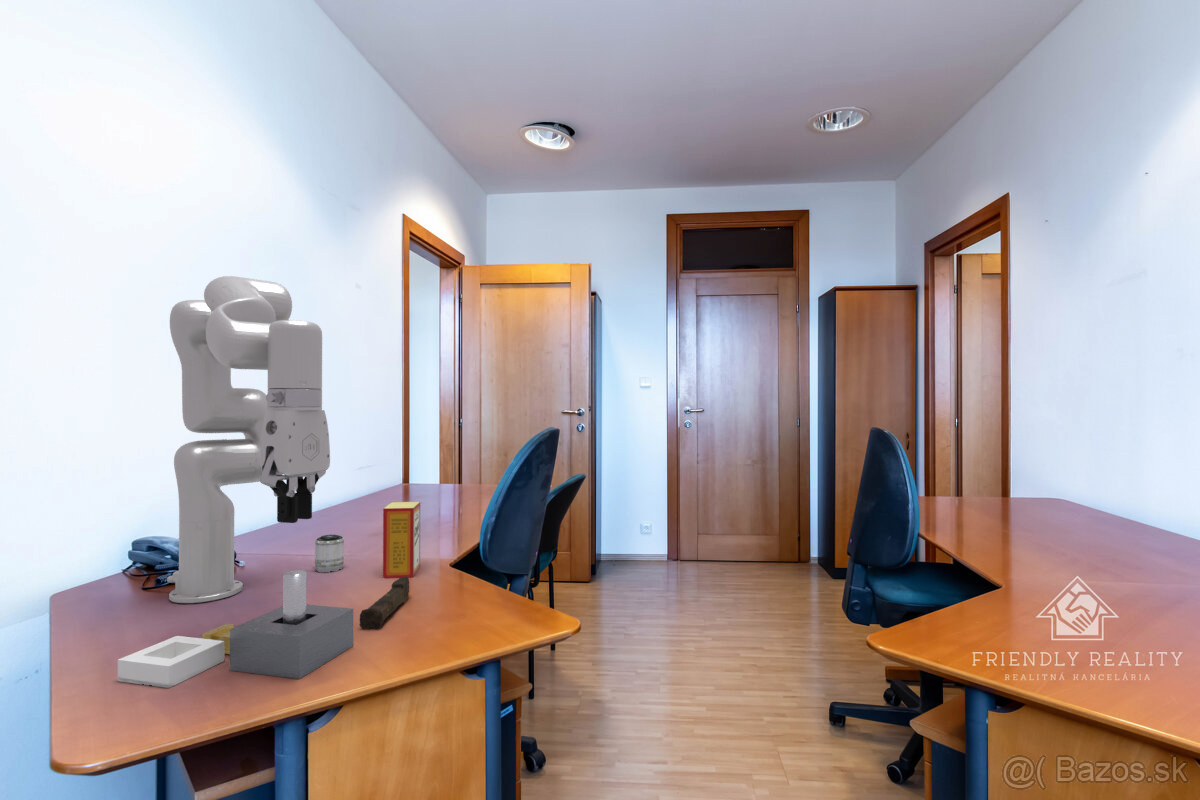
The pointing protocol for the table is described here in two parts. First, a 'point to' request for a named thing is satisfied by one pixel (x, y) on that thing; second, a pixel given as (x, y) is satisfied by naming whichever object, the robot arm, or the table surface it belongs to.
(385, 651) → the table surface
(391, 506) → the baking soda box
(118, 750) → the table surface
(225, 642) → the key
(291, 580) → the grey cylindrical peg
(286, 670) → the socket
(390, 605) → the hand tool
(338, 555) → the camera lens
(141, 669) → the tray
